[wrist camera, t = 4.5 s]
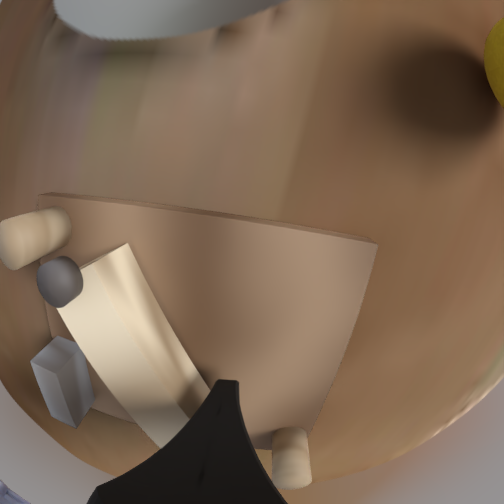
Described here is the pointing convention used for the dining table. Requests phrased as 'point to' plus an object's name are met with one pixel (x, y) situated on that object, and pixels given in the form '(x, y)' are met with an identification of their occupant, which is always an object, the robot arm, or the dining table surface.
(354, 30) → the dining table surface
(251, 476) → the robot arm
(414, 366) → the dining table surface
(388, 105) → the dining table surface
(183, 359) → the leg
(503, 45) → the lemon
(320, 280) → the board
